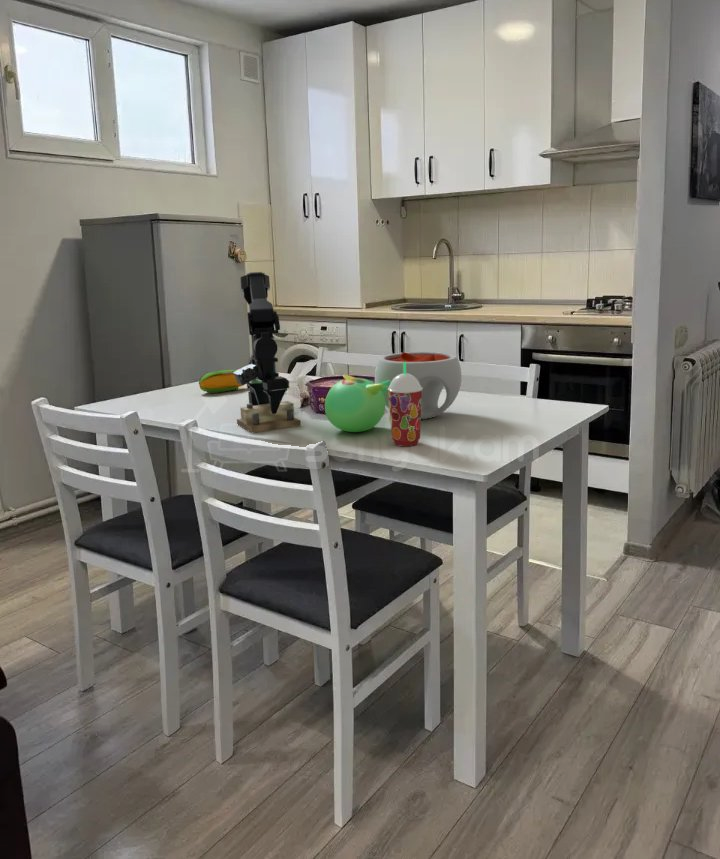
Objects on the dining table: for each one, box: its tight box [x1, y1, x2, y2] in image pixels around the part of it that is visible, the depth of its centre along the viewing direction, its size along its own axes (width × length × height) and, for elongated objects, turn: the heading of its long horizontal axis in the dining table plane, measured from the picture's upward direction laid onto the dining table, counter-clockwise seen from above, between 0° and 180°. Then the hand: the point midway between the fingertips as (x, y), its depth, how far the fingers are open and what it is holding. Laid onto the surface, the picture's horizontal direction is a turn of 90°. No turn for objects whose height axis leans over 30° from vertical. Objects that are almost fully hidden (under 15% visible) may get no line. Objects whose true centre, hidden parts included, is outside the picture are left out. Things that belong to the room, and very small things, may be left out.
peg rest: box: [236, 408, 302, 433], centre depth 210 cm, size 14×12×4 cm
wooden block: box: [240, 400, 295, 425], centre depth 209 cm, size 14×4×5 cm, turn 118°
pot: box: [374, 351, 463, 420], centre depth 213 cm, size 24×24×18 cm
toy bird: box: [324, 374, 391, 433], centre depth 199 cm, size 18×17×15 cm
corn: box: [198, 369, 246, 394], centre depth 264 cm, size 7×8×20 cm
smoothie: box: [388, 362, 423, 447], centre depth 183 cm, size 8×8×20 cm
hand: (267, 410), depth 209 cm, fingers open, 9 cm apart
